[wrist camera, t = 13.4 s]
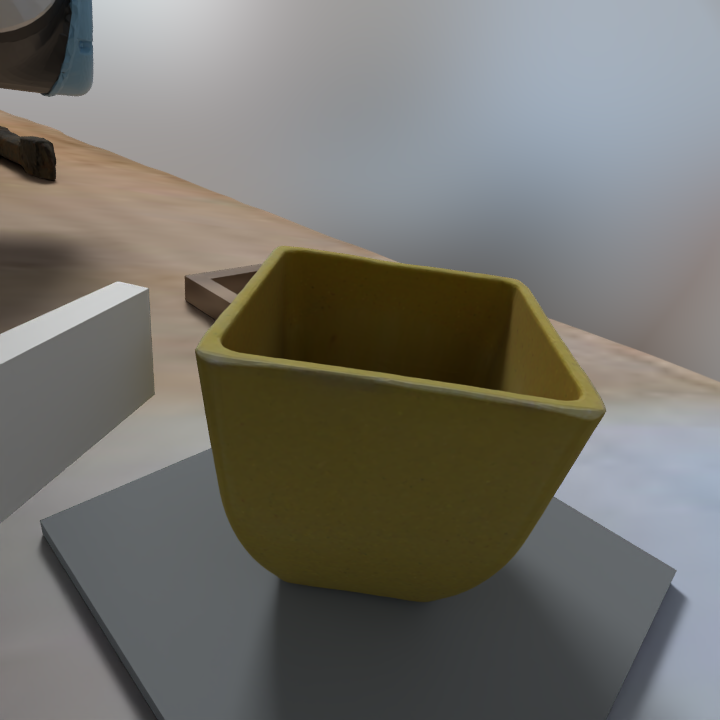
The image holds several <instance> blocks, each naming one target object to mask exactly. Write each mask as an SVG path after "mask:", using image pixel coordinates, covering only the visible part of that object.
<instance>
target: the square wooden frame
mask: <svg viewBox="0 0 720 720" xmlns="http://www.w3.org/2000/svg"><path fill="white" fill-rule="evenodd" d="M261 265H262V264H258V265H251V266H245V267H238V268H232V269H225V270H219V271H212V272H206V273H199V274H193V275H186V276H185V300H186V301H187V302H189V303H190V304H192V305H194V306H195V307H197V308H198V309H200V310H201V311H203V312H204V313H206V314H207V315H209V316H210V317H212V318H213V319H215V320H217V319H218V317H219V316H220V315H221V313H222V312H223V311H224V310H225V309H226V308H227V307H228V306H229V305H230V304H231V303H232V301H233V300H234V299H235V298H236V296H237V295H238V294H239V293H240V292H241V291H242V289H243V288H244V287H245V286H246V284H247V283H248V282H249V281H250V279H251V278H252V277H253V276H254V275H255V274H256V272H257V271H258V270H259V268H260V267H261Z"/></svg>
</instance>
